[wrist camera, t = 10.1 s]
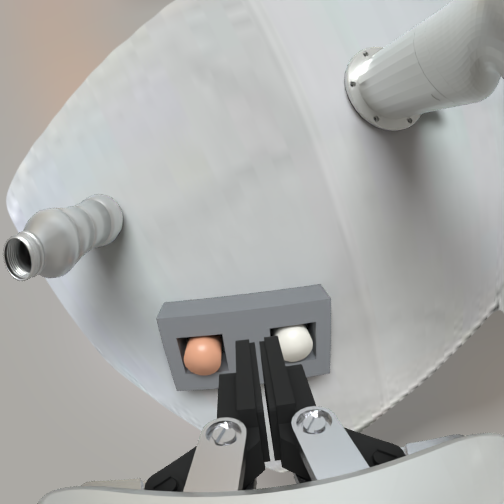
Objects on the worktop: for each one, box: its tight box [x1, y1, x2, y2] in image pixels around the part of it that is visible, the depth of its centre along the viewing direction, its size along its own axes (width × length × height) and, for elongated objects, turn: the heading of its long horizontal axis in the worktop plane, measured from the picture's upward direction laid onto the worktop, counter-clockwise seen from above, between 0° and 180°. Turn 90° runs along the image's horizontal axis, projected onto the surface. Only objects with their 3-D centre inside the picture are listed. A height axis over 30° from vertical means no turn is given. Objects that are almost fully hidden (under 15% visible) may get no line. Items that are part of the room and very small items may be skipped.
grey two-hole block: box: [156, 284, 331, 391], centre depth 41 cm, size 22×12×5 cm, turn 96°
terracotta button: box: [184, 334, 222, 376], centre depth 40 cm, size 5×5×5 cm
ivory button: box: [272, 324, 313, 362], centre depth 41 cm, size 5×5×5 cm
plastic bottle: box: [3, 194, 123, 281], centre depth 29 cm, size 6×7×20 cm
